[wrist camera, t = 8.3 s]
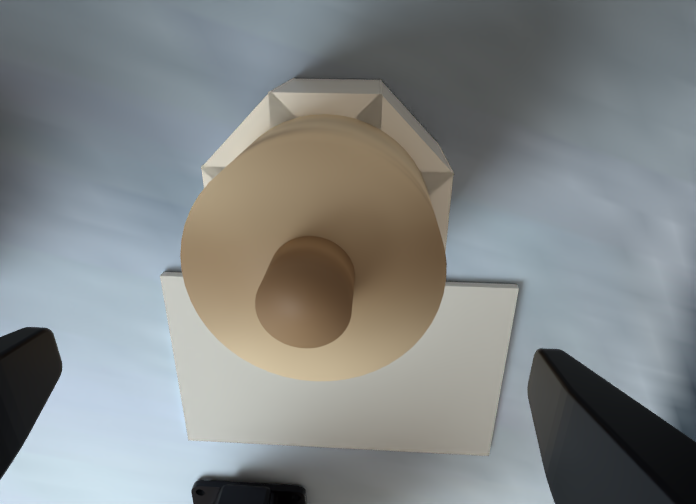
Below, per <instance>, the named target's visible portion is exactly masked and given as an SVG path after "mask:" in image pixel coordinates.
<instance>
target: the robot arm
mask: <svg viewBox="0 0 696 504" xmlns="http://www.w3.org/2000/svg"><path fill="white" fill-rule="evenodd" d="M61 372H62V361H61V357H60V354H59V351H58V347H57V344H56V341H55V337H54V335H53V333H52V331H51V330H50V329H48V328H40V327H25V328H22V329H20V330H17V331H15V332H12V333H10V334H7V335H4V336H2V337H0V480H1V478H2V477H3V475H4V474H5V472H6V471H7V469H8V468H9V466H10V465H11V463H12V462H13V460H14V458H15V457H16V455H17V454H18V452H19V451H20V449H21V447H22V446H23V444H24V442H25V440H26V439H27V437H28V435H29V433H30V431H31V430H32V428H33V426H34V424H35V422H36V420H37V418H38V417H39V415H40V413H41V411H42V409H43V407H44V405H45V404H46V402H47V400H48V398H49V396H50V394H51V392H52V391H53V389H54V387H55V385H56V383H57V381H58V379H59V378H60V375H61ZM528 399H529V404H530V408H531V413H532V417H533V422H534V426H535V430H536V435H537V439H538V444H539V448H540V453H541V457H542V462H543V466H544V470H545V474H546V478H547V481H548V484H549V487H550V490H551V493H552V496H553V499H554V502H555V504H696V442H695V441H693V440H692V439H690V438H689V437H687V436H686V435H685V434H683V433H682V432H680V431H679V430H677V429H676V428H674V427H673V426H672V425H670V424H669V423H667V422H666V421H664V420H663V419H661V418H660V417H658V416H657V415H656V414H654V413H653V412H651V411H650V410H648V409H647V408H645V407H644V406H642V405H641V404H640V403H638V402H637V401H635V400H634V399H632V398H631V397H629V396H628V395H626V394H625V393H624V392H622V391H621V390H619V389H618V388H616V387H615V386H613V385H612V384H611V383H609V382H608V381H606V380H605V379H603V378H602V377H600V376H599V375H597V374H596V373H595V372H593V371H592V370H590V369H589V368H587V367H586V366H584V365H583V364H581V363H580V362H579V361H577V360H576V359H574V358H573V357H571V356H570V355H568V354H567V353H565V352H564V351H562V350H560V349H542V348H540V349H538V350H537V351H536V352H535V354H534V358H533V363H532V367H531V372H530V377H529V382H528ZM192 497H193V503H194V504H307V502H306V490H305V489H304V488H303V487H301V486H295V485H277V484H259V483H241V482H224V481H206V480H199V481H196V482H195V483H194V485H193V488H192Z"/></svg>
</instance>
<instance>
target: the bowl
mask: <svg viewBox="0 0 696 504" xmlns="http://www.w3.org/2000/svg"><path fill="white" fill-rule="evenodd" d="M320 114H330V115H341V116H346V117H350V118H355V119H358V120H360V121H363V122H366V123H368V124H370V125H372V126H374V127H376V128H378V129H380V130H382V131H383V132H385V133H386V134H388V135H389V136H390V137H392V138H393V139H394V140H395V141H397V142H398V143H399V144H400V145H401V146H402V147H403V148H404V149H405V150H406V152H407V153H408V154H409V155H410V156H411V158H412V159H413V160H414V162H415V164H416V165H417V167H418V169H419V170H420V172H421V174H422V177H423V179H424V181H425V184H426V187H427V190H428V193H429V197H430V200H431V203H432V207H433V210H434V213H435V216H436V220H437V223H438V226H439V230H440V233H441V237H442V240H443V244H444V248H445V250H446V240H447V230H448V221H449V211H450V201H451V191H452V182H453V175H454V173H453V170H452V169H451V167H450V165H449V163H448V161H447V159H446V157H445V155H444V153H443V151H442V149H441V147H440V146H439V144H438V142H436V141H435V140H434V139H433V138H432V137H431V135H430V134H429V133H428V132H427V131H426V130H425V129H424V128H423V127H422V125H421V124H420V123H419V122H418V121H417V120H416V119H415V118H414V117H413V115H412V114H411V113H410V112H409V111H408V110H407V109H406V108H405V106H404V105H403V104H402V103H401V102H400V101H399V100H398V99H397V98H396V96H395V95H394V94H393V93H392V92H391V91H390V90H389V89H388V88H387V86H386V85H385V84H384V83H383V82H382V80H380V79H379V80H358V79H295V78H293V79H290V80H289V81H287V82H285V83H283V84H282V85H280V86H278V87H276V88H275V89H273V90H271V91H269V92H268V95H267V96H266V97H265V98H264V99H263V100H262V101H261V102H260V103H259V105H258V106H257V107H256V108H255V109H254V110H253V111H252V112H251V113H250V114H249V116H248V117H247V118H246V119H245V120H244V121H243V122H242V123H241V124H240V126H239V127H238V128H237V129H236V130H235V131H234V132H233V133H232V134H231V135H230V137H229V138H228V139H227V140H226V141H225V142H224V143H223V144H222V145H221V147H220V148H219V149H218V150H217V151H216V152H215V153H214V154H213V155H212V157H211V158H210V159H209V160H208V161H207V162H206V163H205V164H204V165H202V166H201V167H202V168H201V169H202V176H203V184H204V188H205V187H206V186H207V184H208V183H209V182H210V181H211V180H212V179H213V178H214V177H215V176H216V175H218V174H219V173H220V172H221V171H222V170H223V169H224V168H225V167H226V166H227V165H228V164H230V163H231V162H232V161H233V160H234V159H235V158H236V157H237V156H238V155H240V154H241V153H242V152H243V151H244V150H245V149H246V148H247V147H248V146H250V145H251V144H252V143H253V142H254V141H255V140H256V139H257V138H258V137H260V136H261V135H262V134H264V133H265V132H267V131H268V130H270V129H271V128H273V127H275V126H277V125H279V124H281V123H283V122H286V121H289V120H292V119H295V118H298V117H303V116H308V115H320Z"/></svg>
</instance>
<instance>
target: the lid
mask: <svg viewBox="0 0 696 504" xmlns="http://www.w3.org/2000/svg"><path fill="white" fill-rule="evenodd" d="M180 256H181V268H182V275H183V279H184V284H185V287H186V290H187V293H188V295H189V298H190V301H191V303H192V305H193V306H194V308H195V310H196V312H197V314H198V316H199V317H200V318H201V320H202V321H203V323H204V324H205V326H206V327H207V328H208V329H209V330H210V332H211V333H212V334H213V335H214V336H215V337H216V338H217V339H218V340H219V341H220V342H221V343H222V344H223V345H224V346H226V347H227V348H228V349H229V350H230V351H232V352H233V353H235V354H236V355H237V356H239V357H240V358H242V359H243V360H245V361H247V362H249V363H251V364H252V365H254V366H256V367H259V368H261V369H263V370H266V371H268V372H271V373H274V374H277V375H280V376H283V377H288V378H293V379H298V380H306V381H337V380H345V379H350V378H354V377H359V376H362V375H365V374H368V373H371V372H374V371H376V370H378V369H380V368H382V367H384V366H387V365H389V364H390V363H392V362H393V361H395V360H396V359H398V358H400V357H401V356H402V355H404V354H405V353H406V352H407V351H408V350H410V349H411V348H412V347H413V346H414V345H415V344H416V343H417V342H418V341H419V339H420V338H421V337H422V336H423V335H424V334H425V332H426V331H427V329H428V328H429V326H430V325H431V323H432V322H433V320H434V318H435V316H436V314H437V312H438V310H439V307H440V304H441V301H442V298H443V294H444V289H445V283H446V265H447V264H446V256H445V248H444V244H443V240H442V237H441V233H440V230H439V226H438V223H437V220H436V216H435V213H434V210H433V207H432V203H431V200H430V197H429V193H428V190H427V187H426V184H425V181H424V179H423V177H422V174H421V172H420V170H419V169H418V167H417V165H416V164H415V162H414V160H413V159H412V158H411V156H410V155H409V154H408V153H407V152H406V150H405V149H404V148H403V147H402V146H401V145H400V144H399V143H398V142H397V141H395V140H394V139H393V138H392V137H390V136H389V135H388V134H386V133H385V132H383V131H382V130H380V129H378V128H376V127H374V126H372V125H370V124H368V123H366V122H363V121H360V120H358V119H355V118H350V117H346V116H341V115H330V114H320V115H308V116H303V117H298V118H295V119H292V120H289V121H286V122H283V123H281V124H279V125H277V126H275V127H273V128H271V129H270V130H268V131H267V132H265V133H264V134H262V135H261V136H260V137H258V138H257V139H256V140H255V141H254V142H253V143H252V144H251V145H250V146H248V147H247V148H246V149H245V150H244V151H243V152H242V153H241V154H240V155H238V156H237V157H236V158H235V159H234V160H233V161H232V162H231V163H230V164H228V165H227V166H226V167H225V168H224V169H223V170H222V171H221V172H220V173H219V174H218V175H216V176H215V177H214V178H213V179H212V180H211V181H210V182H209V183H208V184H207V186H206V187H205V188H204V189H203V191H202V192H201V193H200V194H199V196H198V198H197V199H196V201H195V203H194V205H193V206H192V208H191V210H190V212H189V215H188V218H187V220H186V223H185V226H184V231H183V235H182V240H181V255H180Z"/></svg>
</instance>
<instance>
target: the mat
mask: <svg viewBox="0 0 696 504" xmlns="http://www.w3.org/2000/svg"><path fill="white" fill-rule="evenodd" d="M160 279H161V284H162V290H163V296H164V302H165V307H166V313H167V319H168V325H169V330H170V336H171V342H172V348H173V353H174V359H175V365H176V371H177V377H178V382H179V388H180V394H181V400H182V405H183V411H184V417H185V423H186V428H187V434H188V440H191V441H211V442H230V443H249V444H268V445H287V446H307V447H326V448H345V449H364V450H383V451H402V452H422V453H441V454H460V455H479V456H489V452H490V447H491V441H492V436H493V430H494V424H495V419H496V413H497V408H498V402H499V396H500V391H501V385H502V380H503V374H504V368H505V363H506V357H507V352H508V346H509V341H510V335H511V329H512V324H513V318H514V313H515V307H516V301H517V296H518V290H519V288H518V286H517V284H496V283H467V282H446V283H445V289H444V294H443V298H442V301H441V304H440V307H439V310H438V312H437V314H436V316H435V318H434V320H433V322H432V323H431V325H430V326H429V328H428V329H427V331H426V332H425V334H424V335H423V336H422V337H421V338H420V339H419V341H418V342H417V343H416V344H415V345H414V346H413V347H412V348H411V349H410V350H408V351H407V352H406V353H405V354H404V355H402V356H401V357H400V358H398V359H396V360H395V361H393V362H392V363H390V364H389V365H387V366H384V367H382V368H380V369H378V370H376V371H374V372H371V373H368V374H365V375H362V376H359V377H354V378H350V379H345V380H337V381H306V380H298V379H293V378H288V377H283V376H280V375H277V374H274V373H271V372H268V371H266V370H263V369H261V368H259V367H256V366H254V365H252V364H251V363H249V362H247V361H245V360H243V359H242V358H240V357H239V356H237V355H236V354H235V353H233V352H232V351H230V350H229V349H228V348H227V347H226V346H224V345H223V344H222V343H221V342H220V341H219V340H218V339H217V338H216V337H215V336H214V335H213V334H212V333H211V332H210V330H209V329H208V328H207V327H206V326H205V324H204V323H203V321H202V320H201V318H200V317H199V316H198V314H197V312H196V310H195V308H194V306H193V305H192V303H191V301H190V298H189V295H188V293H187V290H186V287H185V284H184V279H183V275H182V272H163V273H162V274H161V275H160Z"/></svg>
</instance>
